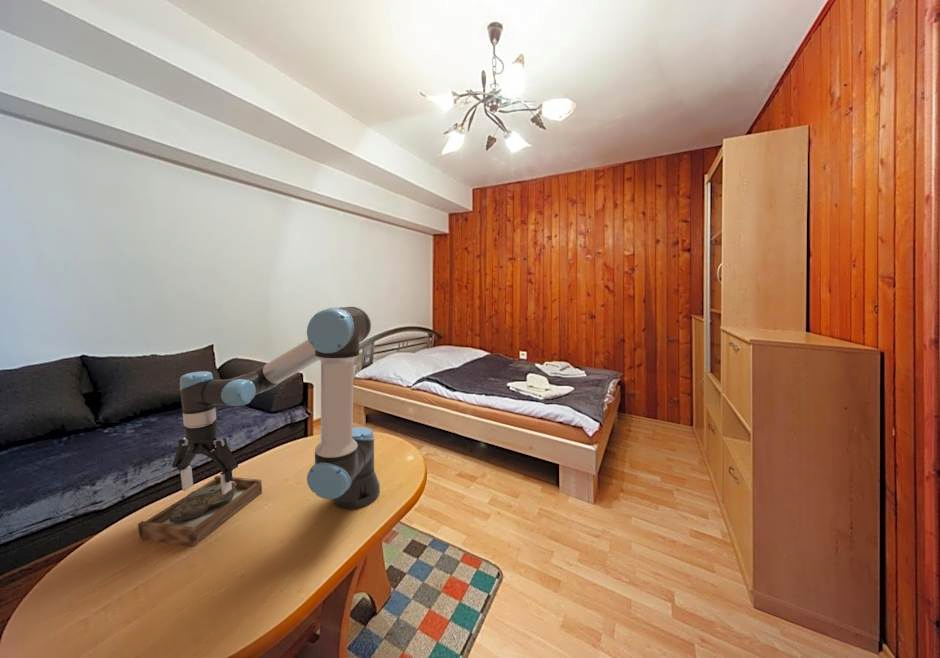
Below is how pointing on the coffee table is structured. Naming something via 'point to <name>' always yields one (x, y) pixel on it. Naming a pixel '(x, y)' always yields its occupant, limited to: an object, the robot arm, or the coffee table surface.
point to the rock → (201, 502)
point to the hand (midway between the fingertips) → (207, 490)
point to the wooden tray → (203, 525)
